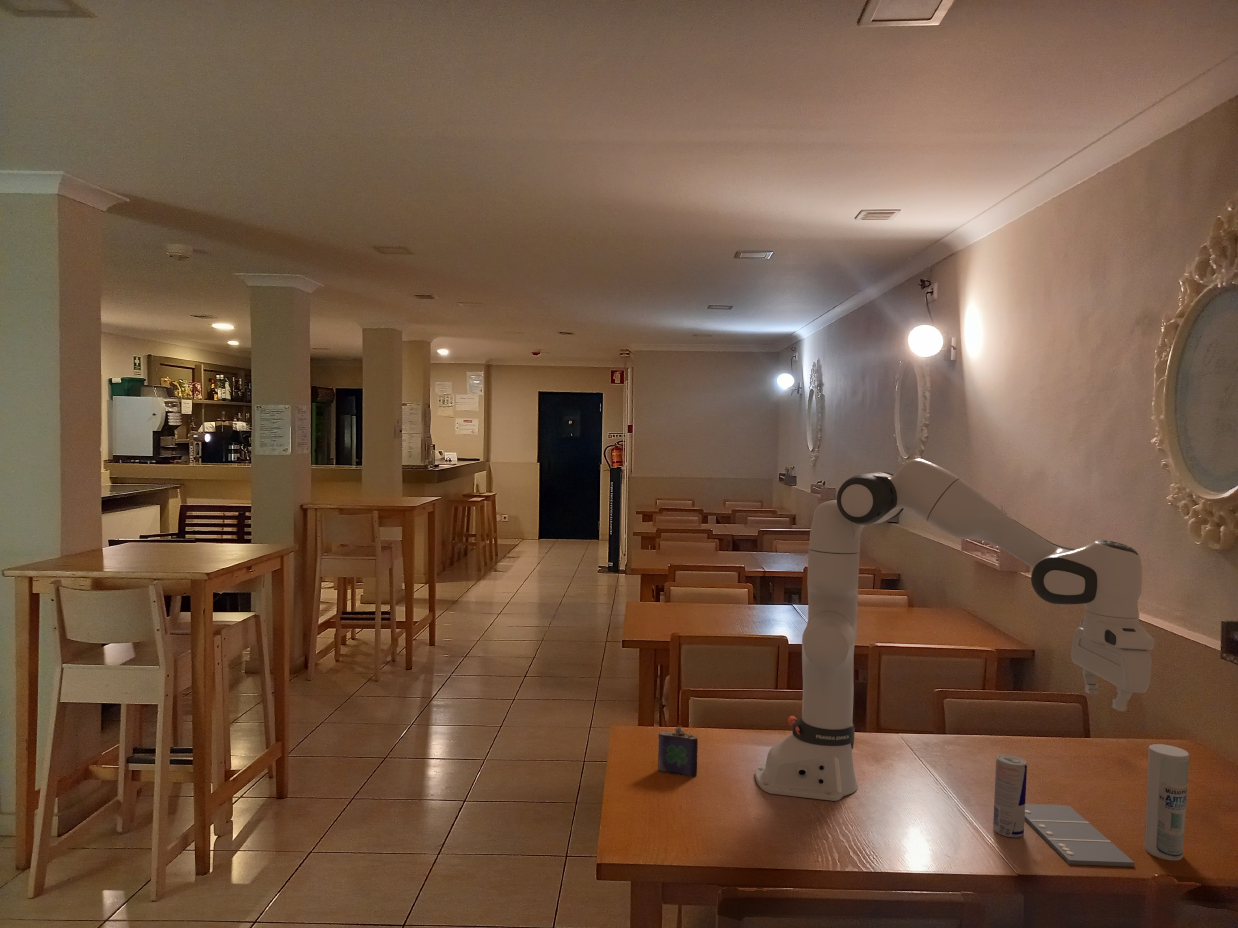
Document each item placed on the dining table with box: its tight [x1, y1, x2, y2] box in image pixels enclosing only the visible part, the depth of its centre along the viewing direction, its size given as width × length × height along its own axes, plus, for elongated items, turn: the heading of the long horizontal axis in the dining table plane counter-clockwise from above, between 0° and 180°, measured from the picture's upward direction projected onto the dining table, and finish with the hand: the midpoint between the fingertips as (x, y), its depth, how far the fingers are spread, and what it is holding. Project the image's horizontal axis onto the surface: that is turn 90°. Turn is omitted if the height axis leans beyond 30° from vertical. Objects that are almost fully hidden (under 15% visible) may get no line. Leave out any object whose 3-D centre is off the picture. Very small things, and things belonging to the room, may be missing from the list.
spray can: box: [1144, 743, 1190, 861], centre depth 164 cm, size 6×6×20 cm
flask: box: [657, 725, 699, 778], centre depth 196 cm, size 9×3×11 cm, turn 71°
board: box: [1024, 803, 1135, 868], centre depth 170 cm, size 12×24×1 cm, turn 179°
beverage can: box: [992, 753, 1028, 839], centre depth 170 cm, size 6×6×15 cm
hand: (1104, 701), depth 160 cm, fingers open, 8 cm apart
